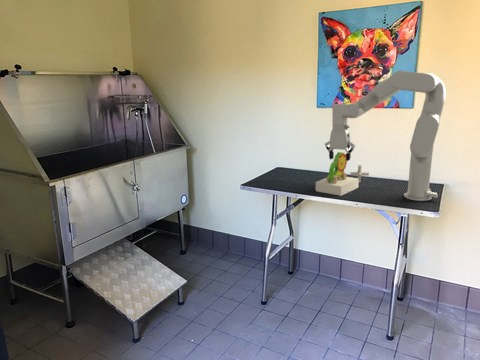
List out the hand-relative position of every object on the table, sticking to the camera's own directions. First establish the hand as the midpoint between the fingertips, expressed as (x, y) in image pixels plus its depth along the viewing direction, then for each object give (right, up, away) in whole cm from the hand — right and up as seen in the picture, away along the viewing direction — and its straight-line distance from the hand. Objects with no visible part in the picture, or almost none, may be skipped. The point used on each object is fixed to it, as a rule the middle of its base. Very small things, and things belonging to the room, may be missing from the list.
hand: (339, 159), depth 213 cm
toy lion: (0, -11, +3) cm, 12 cm away
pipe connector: (+15, -12, +17) cm, 26 cm away
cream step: (0, -16, +4) cm, 17 cm away
